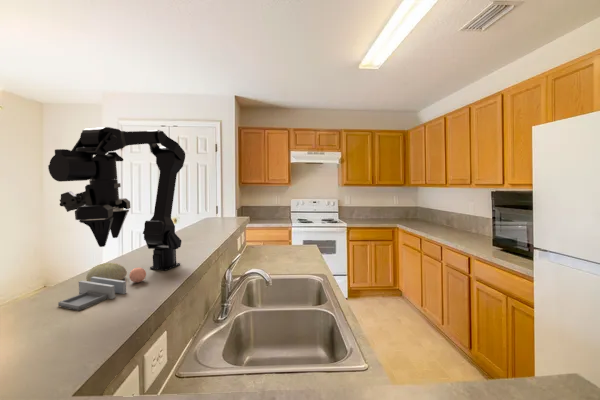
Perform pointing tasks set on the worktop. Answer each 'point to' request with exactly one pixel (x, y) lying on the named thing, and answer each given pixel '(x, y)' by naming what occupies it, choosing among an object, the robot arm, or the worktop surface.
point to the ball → (137, 275)
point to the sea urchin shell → (107, 271)
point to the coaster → (82, 300)
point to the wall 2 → (111, 283)
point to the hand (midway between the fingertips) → (109, 241)
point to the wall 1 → (97, 288)
